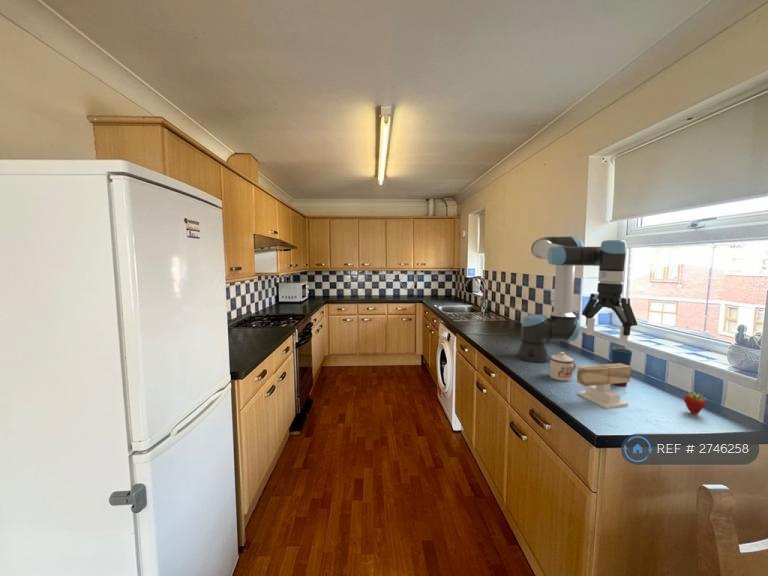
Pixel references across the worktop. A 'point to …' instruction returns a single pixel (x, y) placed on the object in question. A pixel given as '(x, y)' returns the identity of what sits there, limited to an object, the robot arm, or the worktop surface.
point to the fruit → (694, 402)
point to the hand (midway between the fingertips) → (605, 339)
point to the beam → (603, 374)
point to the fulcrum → (603, 396)
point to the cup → (621, 359)
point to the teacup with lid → (561, 367)
